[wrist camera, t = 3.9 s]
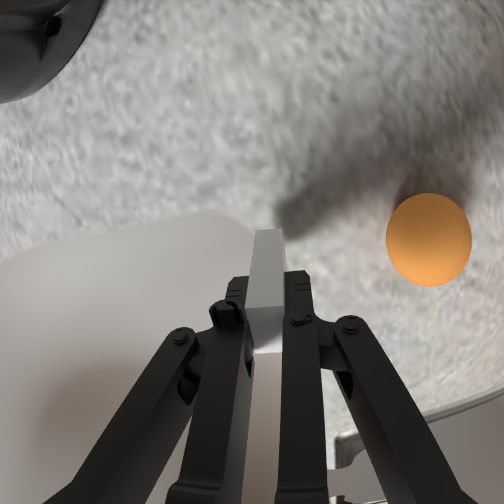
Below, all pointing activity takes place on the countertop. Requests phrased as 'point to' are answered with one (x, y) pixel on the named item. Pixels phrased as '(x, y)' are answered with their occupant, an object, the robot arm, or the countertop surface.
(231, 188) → the countertop surface
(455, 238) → the ball
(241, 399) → the robot arm
